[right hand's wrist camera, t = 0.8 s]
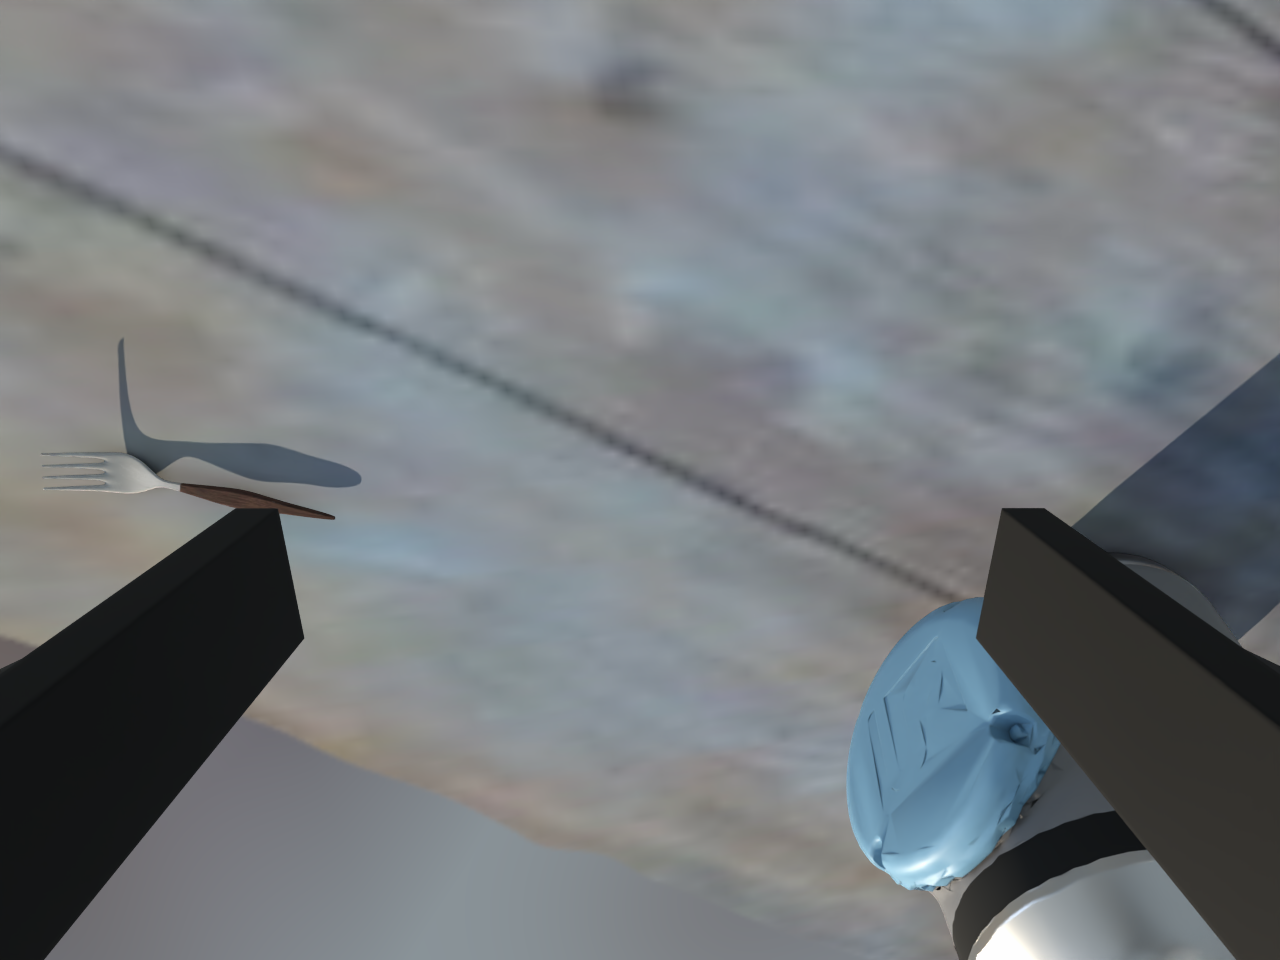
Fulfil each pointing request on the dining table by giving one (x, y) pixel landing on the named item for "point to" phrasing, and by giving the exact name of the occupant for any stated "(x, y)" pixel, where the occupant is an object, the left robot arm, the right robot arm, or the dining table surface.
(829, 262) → the dining table surface
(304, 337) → the dining table surface
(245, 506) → the fork
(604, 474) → the dining table surface
